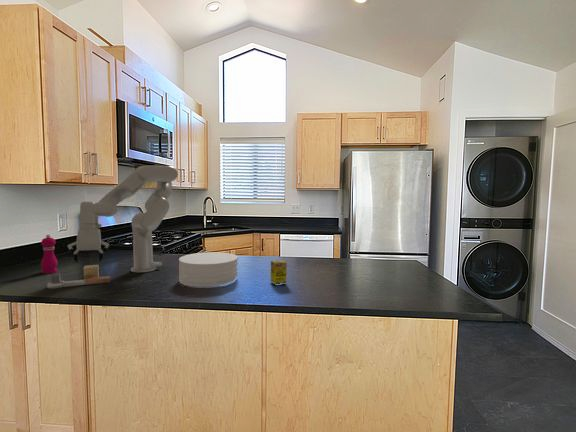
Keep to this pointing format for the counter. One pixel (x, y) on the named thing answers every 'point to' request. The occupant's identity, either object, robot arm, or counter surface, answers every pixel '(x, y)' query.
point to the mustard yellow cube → (91, 271)
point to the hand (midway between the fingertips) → (88, 261)
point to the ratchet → (75, 281)
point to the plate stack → (207, 268)
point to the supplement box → (278, 271)
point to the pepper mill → (48, 256)
